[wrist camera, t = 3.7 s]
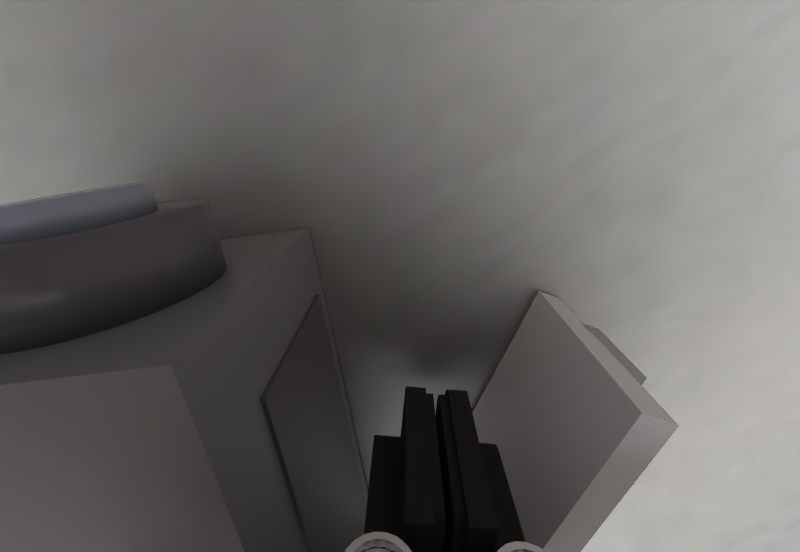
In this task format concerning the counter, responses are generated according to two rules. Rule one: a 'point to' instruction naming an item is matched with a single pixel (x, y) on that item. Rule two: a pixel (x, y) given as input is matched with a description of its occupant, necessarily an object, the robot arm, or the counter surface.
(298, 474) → the camera body
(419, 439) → the robot arm
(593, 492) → the door
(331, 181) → the counter surface
